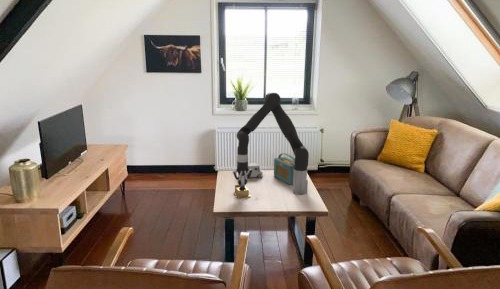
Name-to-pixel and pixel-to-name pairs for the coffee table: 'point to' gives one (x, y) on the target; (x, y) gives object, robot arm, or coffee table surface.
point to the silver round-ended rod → (242, 182)
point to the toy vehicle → (255, 170)
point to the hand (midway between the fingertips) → (242, 184)
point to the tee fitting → (241, 192)
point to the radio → (284, 168)
